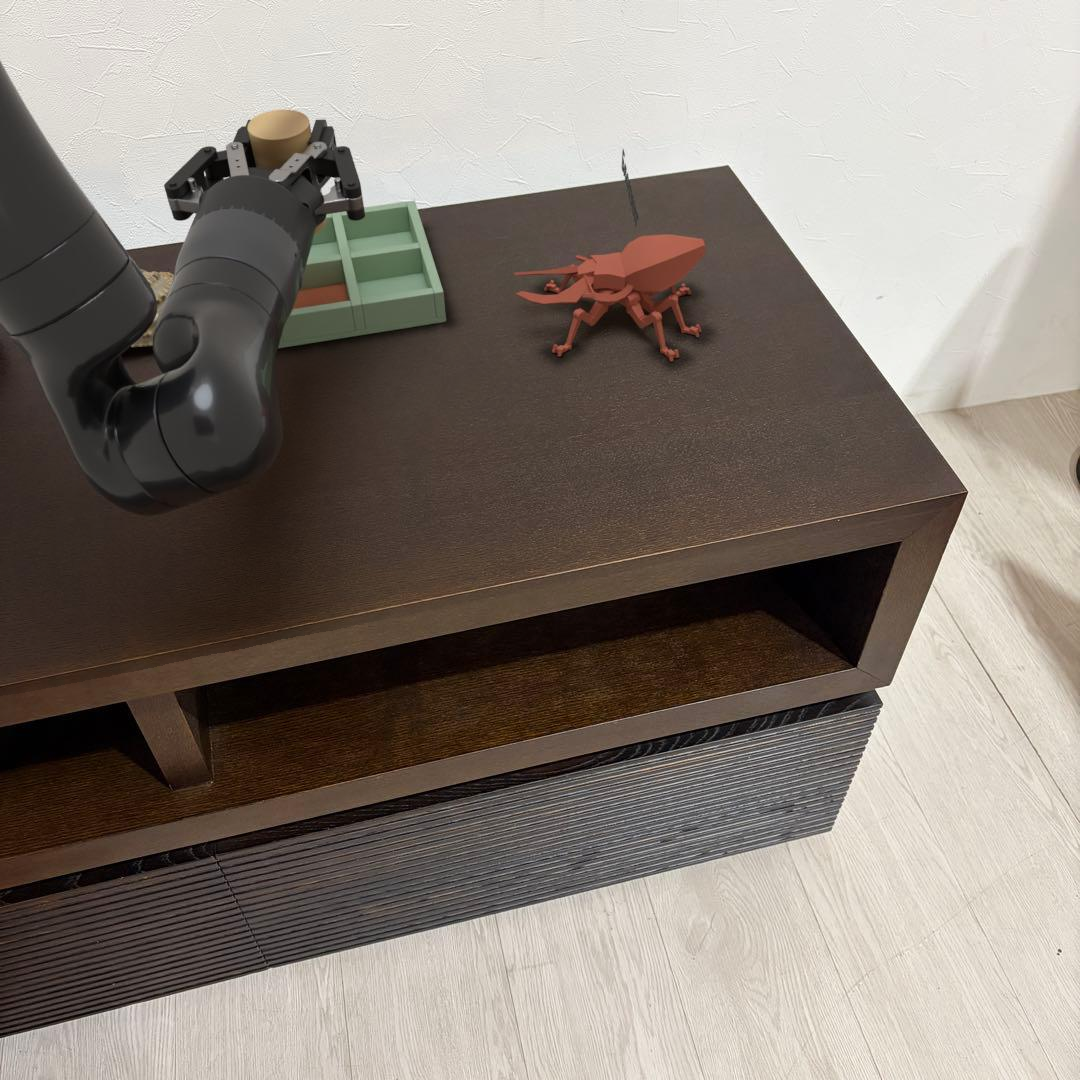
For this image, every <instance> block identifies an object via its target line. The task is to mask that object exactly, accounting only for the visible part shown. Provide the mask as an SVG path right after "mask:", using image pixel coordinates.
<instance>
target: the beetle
mask: <svg viewBox="0 0 1080 1080" xmlns="http://www.w3.org/2000/svg"><path fill="white" fill-rule="evenodd" d="M621 151H622V152H621V153H622V154H621V171H622V173H623V177H624V184H625V188H626V189H625V190H626V191H627V196H628V197H629V199H628V201H629V205H630V207H631V209H630V210H631V212H632V217H633V222H634V227H637V221H638V220H639V214H638V210H637V206H636V205H635V203H636V202H635V200H634V195H633V190H632V185H631V181H630V178H629V172H627V171H628V170H627V168H628V167H627V164H626V163H625V159H626V158H625V157H626V153H625V150H624V148H622V150H621ZM706 253H707V251H706V244H705V241H704V239H703V238H696V237H691V236H683V235H676V234H670V233H669V234H668V233H667V234H651V235H640V236H639V237H637V238H635V239H634V240H631V241H630V242H628V243H627V244H626V246H625V247H624V248H623V249H622V251H621V252H620V251H617V252H612V253H606V254H590V256H589V258H588V257H585V256H582V255H579V254H576V256H575V260H578V261H581V262H582V263H581V264H578V265H576V264H573V263H572V264H570V265H568V266H567V265H566V266H562V267H558V268H553V269H544V270H534V271H533V270H532V271H531V270H529V271H516V272H513V275H514V276H537V275H564V278H563V279H562V281H561V284H560V286H559V287H558V286H557V284H555V281H554V280H553V279H550V280H549V283H546V284H545V286H544V288H543V290H544V291H545V292H547V291H549V292H553V293H555V294H540V293H533V292H529V291H525V290H521V291H519V292H516V293H515V295H516V296H517V297H520V298H522V299H524V300H526V301H528V302H531V303H535V304H540V305H545V306H546V305H557V304H568V305H569V304H570V305H576V304H577V303H579V301H580V300H581V299H582V298H588V299H591V300H594V301H595V302H594V304H593V305H592V307H591V309H590V310H589V312H587V311H585V310H584V309H582V308H581V307H579V308H576V309H575V310H574V311H573V314H572V316H573V318H572V321H571V325H570V329H569V332H568V336H567V339H566V342H565V343H564V345H562V344H560V345H558V344H556V343H554V344H553V347H552V349H551V352H552V353H553V354H557V357H559V358H560V357H562V355H563V354H564V353H565V352H567V351H571V350H572V349H573V345H572V344H573V341H574V339H575V337H576V335H577V332H578V329H579V327H580V324H581V322H582V321H583V322H584V323H585V324H587V325H588V326H590V327H593V326H595V325H596V323H597V322H598V321H599V320H600V319H601V318H602V316H604V314H605V313H607V312H608V311H609V306H612V305H614V304H617V303H620V304H621V305H622V306H623V307H625V308H626V309H625V312H626V313H627V314H628V315H630V317H631V318H632V319H633V321H634V322H635V324H636V325H637V327H639V328H640V329H644V328H647V327H648V326H649V325H651V324H653V328H654V331H655V335H656V338H657V342H658V345H659V348H660V350H659V352H660V354H662V355H665V356H666V357H667V358H668V360H669V362H673V361H674V359H675V358H676V359H678V358H680V353H679V349H677V348H675V349H674V350H673V349H671V348H668V347H667V346H666V340H665V333H664V329H663V323H662V320H663V316H662V313H663V312H665V311H666V310H668V309H669V308H671V309H672V311H673V313H674V316H675V319H676V321H677V323H678V325H679V327H680V332H681V333H682V334H689V335H692V336H693V335H694V336H695V338H699V337H700V334H699V333H702V328H701V326H700V324H698V323H697V324H695V326H690V327H688V326H687V325H685V321H684V317H683V314H682V311H681V309H680V305H679V297H682V296H684V295H688V296H690V295H692V291H691V289H690V287H687V286H686V284H685V283H684V282H683V283H682V284H681V287H680V288H678V291H677V290H676V287H675V285H676V284H678V283H679V282H681V281H683V280H684V278H685V277H686V276H687V275H688V274H689V273H690V271H691V270H693V268H694V267H695V266H696V265H697V263H698V262H699V261H700V260H701V259H702V258H703V257H704V256H705V254H706ZM571 278H572V280H573V281H574V283H573V284H572V285H571V286H569V287H568V288H566V287H567V285H568V283H569V281H570V280H571ZM565 288H566V289H565ZM668 289H669V290H670V292H671V294H669V295H667V296H666V297H665V298H663V299H661V300H659V302H657V301H656V302H655V301H654V300H653V299H652V297H653V296H656V295H657V294H659V292H660V293H661V292H664V291H665V290H668ZM643 309H644V310H645V311H646V312H647V313H649V314H648V315H645V313H644V311H643Z"/></svg>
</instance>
